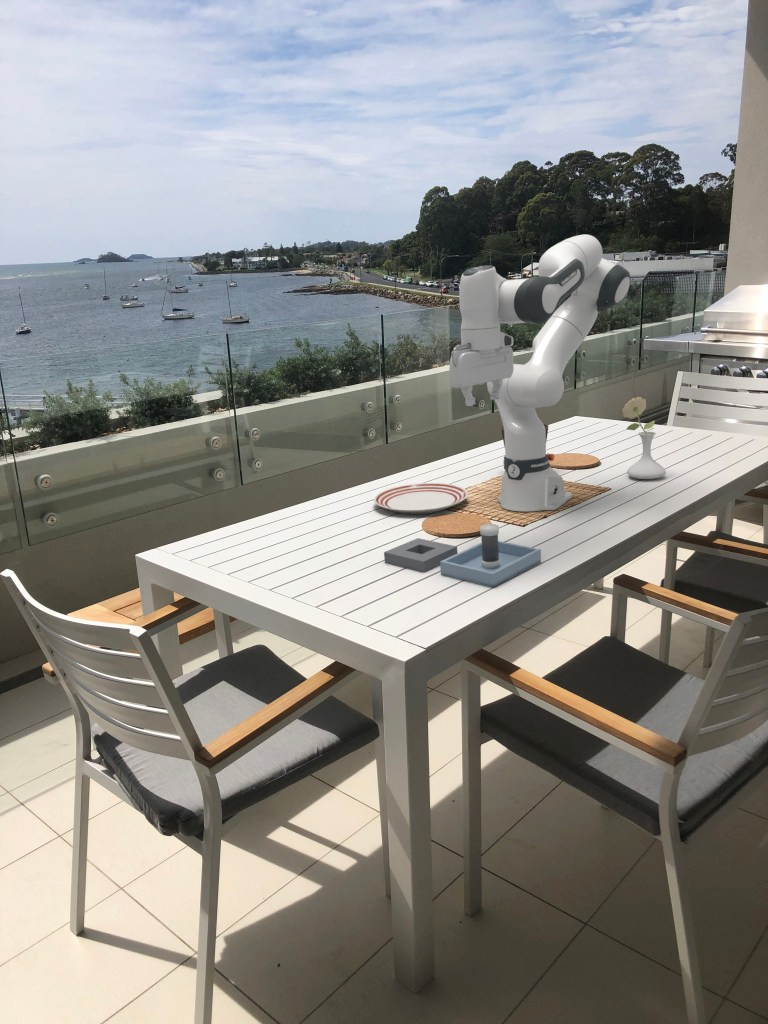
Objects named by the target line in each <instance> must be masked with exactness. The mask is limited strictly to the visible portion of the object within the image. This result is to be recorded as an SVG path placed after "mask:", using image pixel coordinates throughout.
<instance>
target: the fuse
mask: <svg viewBox="0 0 768 1024" xmlns="http://www.w3.org/2000/svg"><path fill="white" fill-rule="evenodd" d="M499 526H500V525H498V524H494V523H486V524H481V525H480V526H479V534H480V536H481V537H480V538H481V543H482V559H481V563H482V567H483V568H486V569H494V568H498V567H499V566H500V558H499V551H498V541H499V534H500V531H499V530H500V528H499Z"/></svg>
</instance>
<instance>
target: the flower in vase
mask: <svg viewBox="0 0 768 1024" xmlns="http://www.w3.org/2000/svg"><path fill="white" fill-rule="evenodd" d="M646 409H647V400H646V398H642V396H636V398H635V397H632V398H631V399H629V400H628V402H627V403H626V404H624V407H623V409H622V410H621V411H622V412H621V413H622V417H623V418H624V419H625V418H628V419H635V418H638V423H637V422H634V423H631V424H630V425H628V426H627V428H626V431H627V430H628V431H636V430H637V429H638V428H639V427H641V429H642V431H641V432H638V434H637V435H638V436H639V437H640V438H641V442H642V455H641V458H640V459H638V460H637V461H636V462H634V463H633V464H632V465H631V466H630V467H628V469H627V470H626V474H627V475H628V476H629V477H631V478H634V479H637V480H638V479H640V480H654V479H658V478H659V479H660V478H662V477H664V476H665V475H666V473H667V471H666V469H665V468H664V467H663V466H662V465H661V463H659V462H657V461H656V459H654V458H653V457H652V451H651V450H652V449H651V447H652V441H653V439H654V437H655V436H656V434H657V433H656V432H655V431H646V430H648V429H649V430H650V429H652V428H653V427H654V426H655V423H656V421H655V420H652V421H650V422H647V423H645V424H644V426H642V424H641V421H640V420H641V419H640V415H642V414H643V412H644V411H645V410H646Z"/></svg>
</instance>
